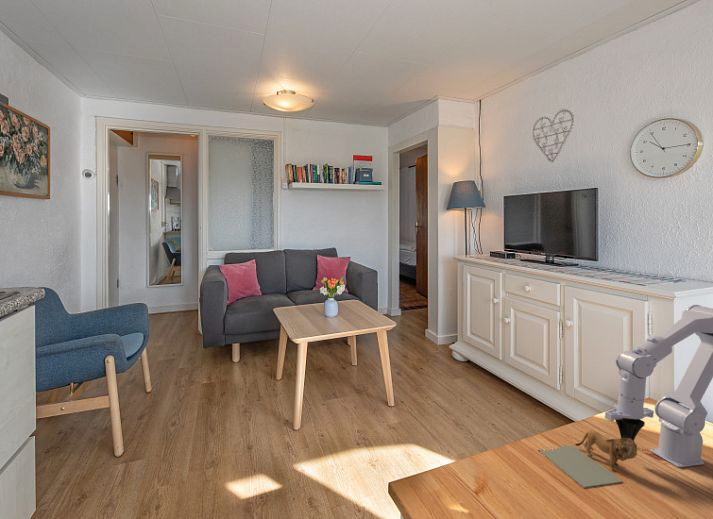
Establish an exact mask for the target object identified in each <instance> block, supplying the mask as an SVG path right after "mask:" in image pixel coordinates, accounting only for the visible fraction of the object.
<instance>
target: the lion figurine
mask: <svg viewBox="0 0 713 519" xmlns="http://www.w3.org/2000/svg"><path fill="white" fill-rule="evenodd" d="M574 445H575V447H578V446H579V447H580V446H581V445H584V449H585V450H586V455H587V456H588V457H590V458H592V457H593V454H592V453H591V448H592V447H593V445H596V446H597V448H598V449H599V450H600V451H601V452H603V453H605V454H606V455H608V456H609V468H610V470H612V471H614V472H615V471H616V470H617V468H620V465H619V464H618V463H617V462H618V460H619V461H621V462H624V461H626V460H630V459H634V458H635V457H636V456H637V455H638V444H636V442H635V440H634V441H633V440H632V439H630V438H623V439H621V438H611V439H607V438H605V437H604V436H603V435H602V434H600V433H599V432H598V431H595V430H591V429H590V430H588V431H587V432H586V433H585V434H584V436H583V438H582V440H581V441H580V442H579V443H578V442H577V443H575V444H574Z"/></svg>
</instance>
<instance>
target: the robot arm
mask: <svg viewBox="0 0 713 519" xmlns="http://www.w3.org/2000/svg"><path fill="white" fill-rule="evenodd" d="M694 334H695V335H696V336H698V338H699V339H700V343H699V345H698V348H697V349H696V351H695V353H694V355H693V357H692V358H691V361H690V362H689V365H688V366H687V368H686V370H685V372H684V374H683V376H682V377H681V380H680V382H679V384H678V385H677V388H676V390H675V389H674V390H671V391H666V392H665V393H664V394H663V396H662V397H661V398H660V399H659V400H658V401H657V402H656V404H655V406H654V410H652V409H651V408H649V407H644V406H645V394H646V393H645V392H646V387H647V385H646V383H647V378H648V377H649V376H651V375H652V374H653V372H654V369H655V368H656V367H657V365H658V363H659V362H661V361H662V360H664V359H665V358H667V357H668V356H670V355H671V354H672V352H673V346H675V345H677V344H678V343H680V342H682V341H683V340H685V339H687V338H689V337H690V336H693V335H694ZM615 365H616V367H617V368H618V374H619V382H618V383H619V386H618V396H617V404H614V405H613V406H614V407H613V408H612V409H609V410H605V412H604V419H606V420H608V421H609V422H615V423H616V425H617V427H618V429H619V430H618V431H619V435H620V439H623V438H630V439H632V440H633V441H634V442H635V440H636V438H637V435H638V433H639V432H640V431H641V429H642V428H644V427H645V424H646V423H645V421H644V420H643V419H644V418H647V417H648V418H650V419H654V414H655V415H656V416H657V417H658V422H659V423H660V429H659V430H660V431H659V439H658V447H656V448H650V449H649V451H650V452H651V453H653V454H655V455H657V456H658V457H660V458H661V459H663V460H665V461H667V463H670V464H671V465H674V466H675V467H677V468H684V467H692V466H694V467H695V466H700V465H701V466H702V465H704V464H705V461H703V460H702V456H703V455H702V453H703V443H704V440H703V436H702V434H701V432H702V431H703V430H704V429H705V426H706V418H707V416H708V411H707V409H706V407H704V405H703V403H702V402H701V400H702V399H703V398H704V396H705V393H706V391H707V390H708V388H709V386H710V384H711V382H712V380H713V307H707V306H702V305H700V304H693V305H690V306H688V308H686V309H685V310H683V311H682V314H681V318H680V319H679V320H678V321H677V322H675V323H674V324H673V325H672V326H670V327H669V328H668V329H667V330H665V332H663V333H662V334H661V335H659V336H658V335H652V336H649V337H647V338H646V340H645V341H643V342H642V343H640V344H639V345H638V346H636V347H634V348H633V349H632V350H625V351H622V352H620V354H618V356H617V358H616V359H615ZM684 405H685V406H684ZM686 406H687V407H686Z"/></svg>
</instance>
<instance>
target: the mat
mask: <svg viewBox="0 0 713 519" xmlns="http://www.w3.org/2000/svg"><path fill="white" fill-rule="evenodd" d="M555 447H556V446H554V449H553V451H552V449H551V450H548V451H547V449H546V450H545V451H543V448H541V449H542V450H541V451H540V452H539V453H541V452H542V453H541V455H543V454H544V455H545V456H546V459H548V460H549V461H550V462H551V461H552V463H553V464H554V465H555V466H557V467H558V469H559V470H561V471H562V472H564V474H566V475H567V476H568V477H569V478H571V479H572V480H573V481H574V482H576V484H578V485H579V486H580V487H581V488H583V489H586V488H594V486H595V487H601V485H602V486H607V485H608V486H609V485H613V484H614V485H615V484H621V483H624V481H623V480H622V479H621V478H619V477H618V476H616V475H615V474H614V473H613V472H611V471H610V470H608V469H607V468H605V467H604V466H603V465H601V464H600V463H598V462H597V461H595V460H594V459H592V457H589V456H587V453H584V452H583V451H582V450H580V449H579V448H577V446H576V445H575V446H574V445H572V444H570V445H562V446H557V447H558V448H557V449H555ZM559 447H560V449H559ZM544 455H543V456H544ZM545 456H544V457H545Z"/></svg>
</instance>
